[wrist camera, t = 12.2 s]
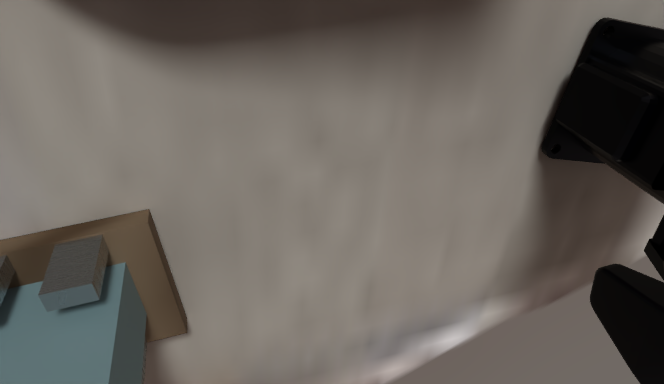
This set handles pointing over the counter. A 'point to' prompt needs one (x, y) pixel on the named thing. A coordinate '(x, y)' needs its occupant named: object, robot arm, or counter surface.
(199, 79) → the counter surface
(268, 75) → the counter surface
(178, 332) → the brown base with posts
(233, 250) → the counter surface
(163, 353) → the counter surface
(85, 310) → the door
